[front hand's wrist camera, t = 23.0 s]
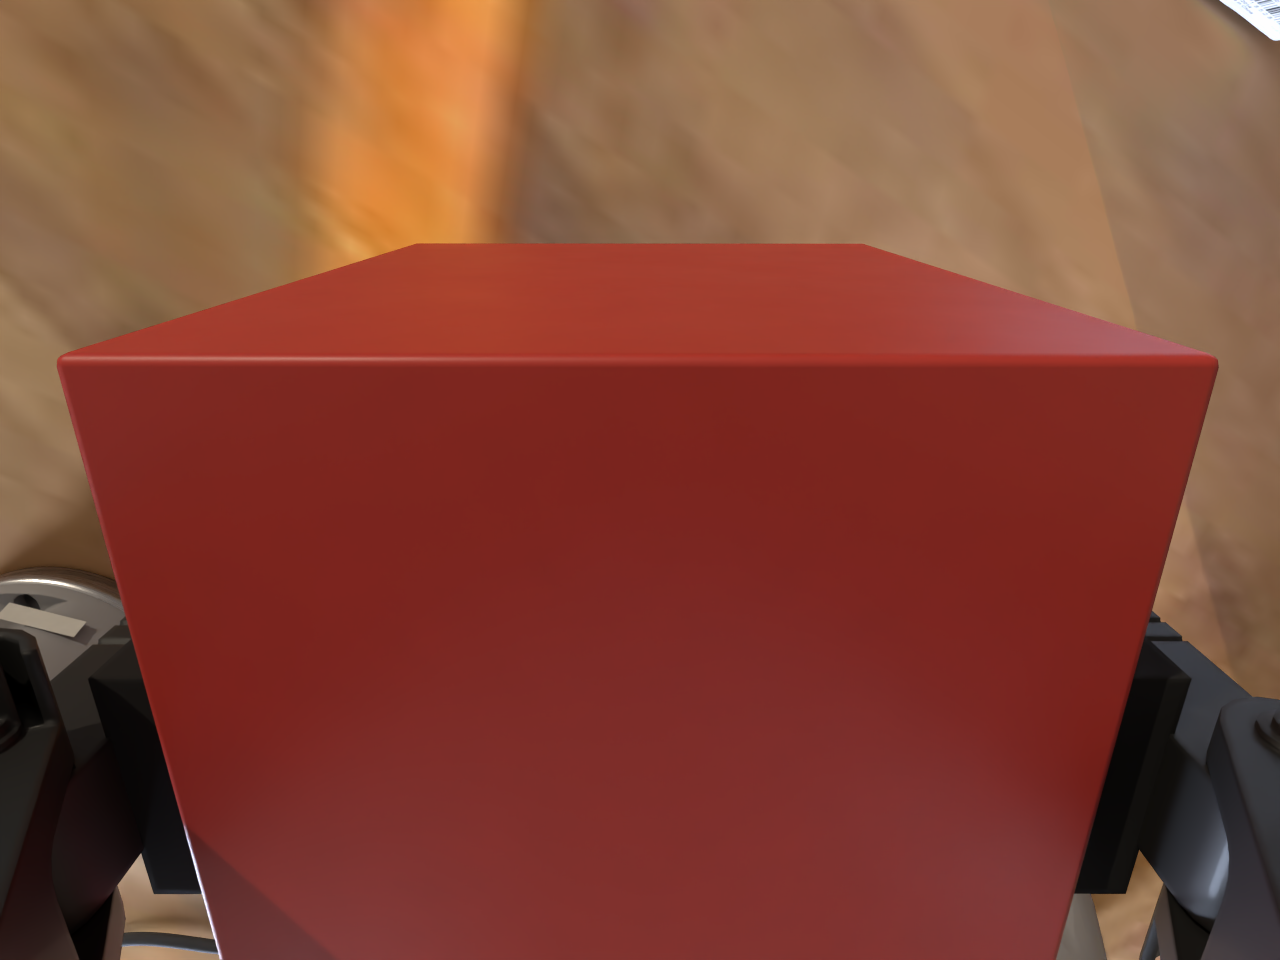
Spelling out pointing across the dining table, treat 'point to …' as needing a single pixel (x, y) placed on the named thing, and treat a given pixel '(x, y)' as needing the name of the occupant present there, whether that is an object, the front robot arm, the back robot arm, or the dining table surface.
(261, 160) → the dining table surface
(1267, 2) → the hard drive box
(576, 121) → the dining table surface
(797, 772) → the block
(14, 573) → the back robot arm
